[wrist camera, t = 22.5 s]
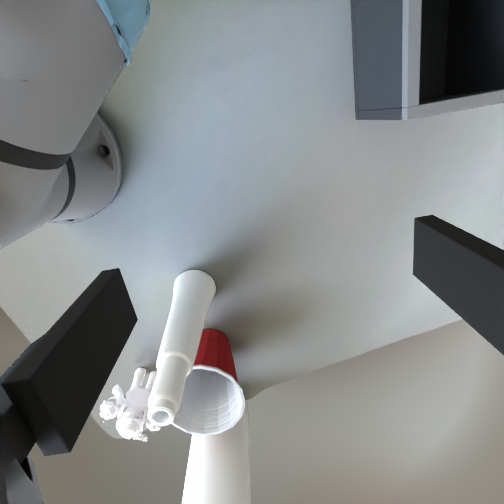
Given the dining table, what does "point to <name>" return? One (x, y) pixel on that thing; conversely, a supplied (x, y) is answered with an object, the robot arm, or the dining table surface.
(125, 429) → the flower shoulder figurine
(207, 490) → the alcohol
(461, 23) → the grey hollow box
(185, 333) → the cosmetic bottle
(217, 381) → the plastic cup
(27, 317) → the dining table surface
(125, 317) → the robot arm
